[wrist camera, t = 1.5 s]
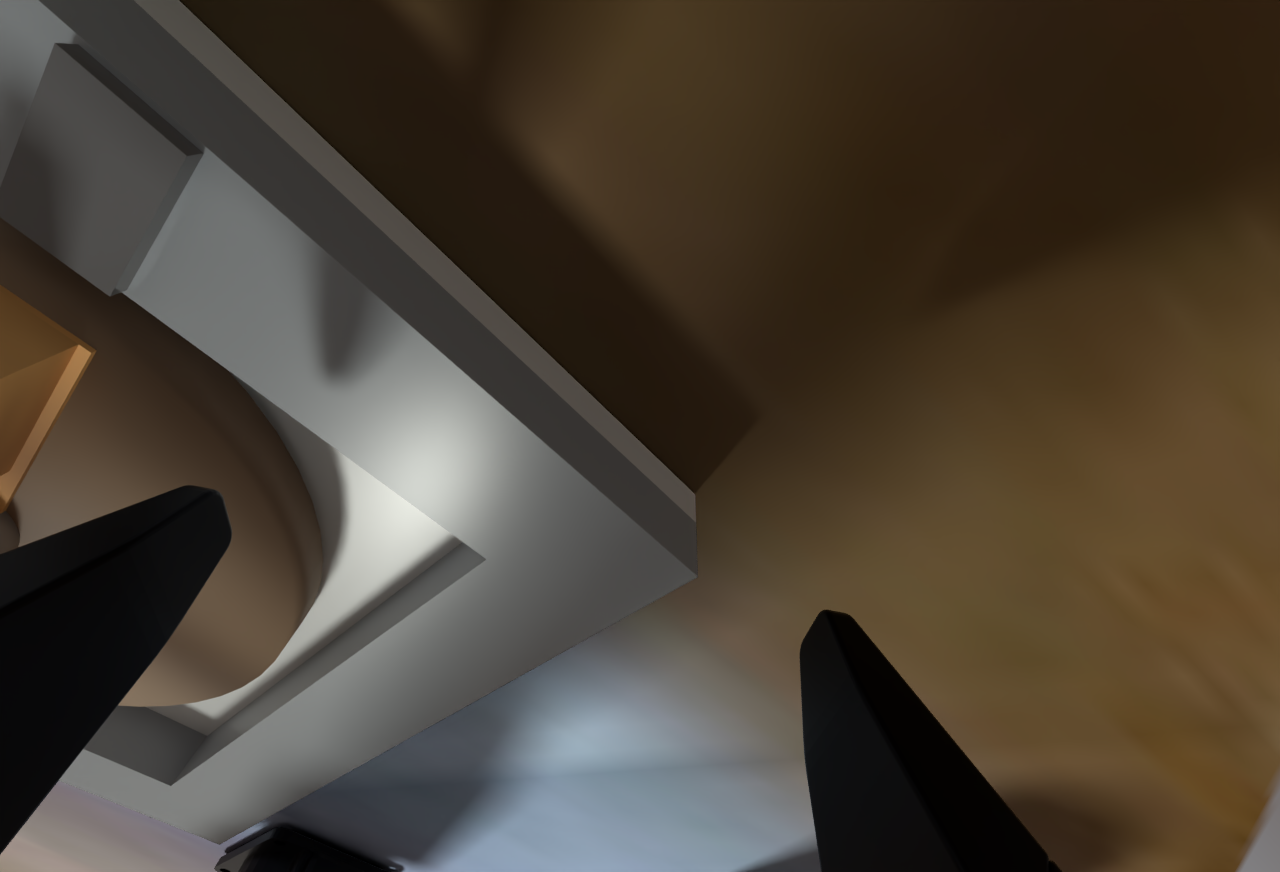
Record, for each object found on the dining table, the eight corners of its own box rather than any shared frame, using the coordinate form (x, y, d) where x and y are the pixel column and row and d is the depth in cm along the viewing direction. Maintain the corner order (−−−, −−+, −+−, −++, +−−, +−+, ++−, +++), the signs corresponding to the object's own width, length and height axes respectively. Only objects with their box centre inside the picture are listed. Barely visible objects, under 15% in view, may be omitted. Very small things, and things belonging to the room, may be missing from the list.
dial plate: (265, 768, 22) (213, 854, 20) (-530, 398, 14) (-784, 465, 12) (695, 494, 13) (698, 588, 11) (-800, -937, 5) (-2114, -1837, 3)
